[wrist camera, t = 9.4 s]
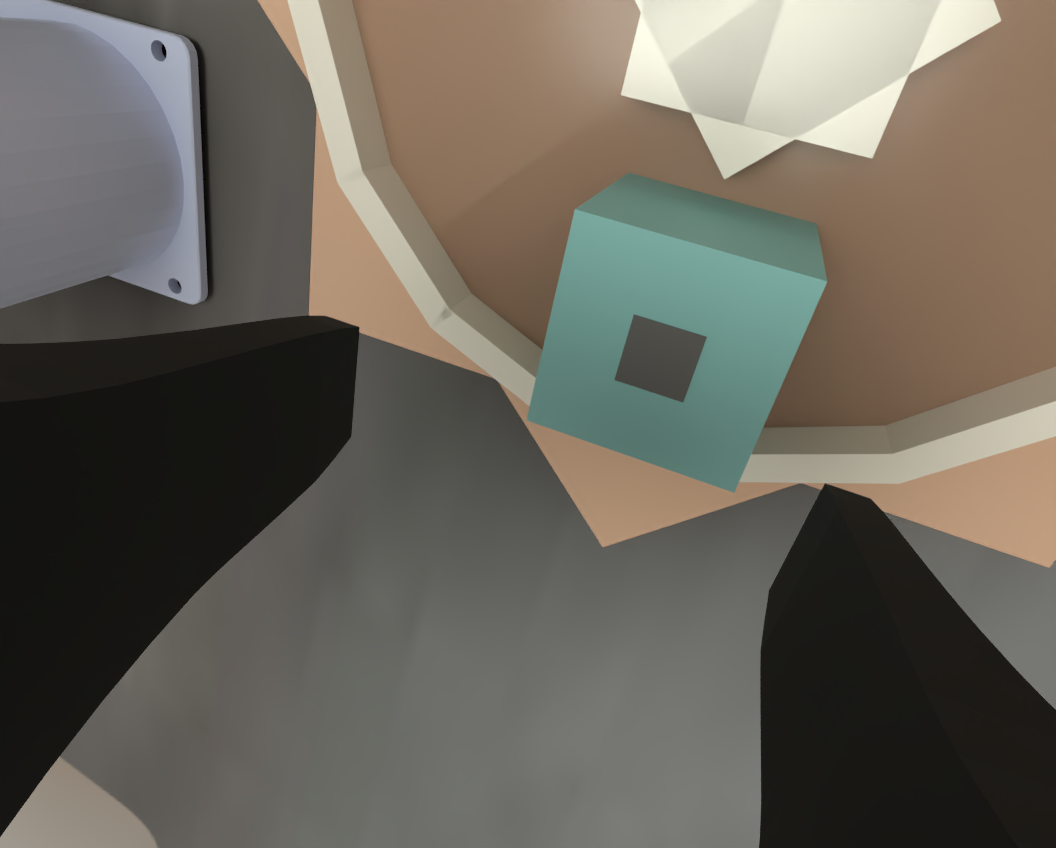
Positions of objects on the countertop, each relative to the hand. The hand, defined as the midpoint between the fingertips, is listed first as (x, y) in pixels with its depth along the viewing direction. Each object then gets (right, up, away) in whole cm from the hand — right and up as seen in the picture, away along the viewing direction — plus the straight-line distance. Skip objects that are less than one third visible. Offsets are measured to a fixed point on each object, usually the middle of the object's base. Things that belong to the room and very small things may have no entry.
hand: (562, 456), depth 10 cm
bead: (+4, +4, +7) cm, 9 cm away
